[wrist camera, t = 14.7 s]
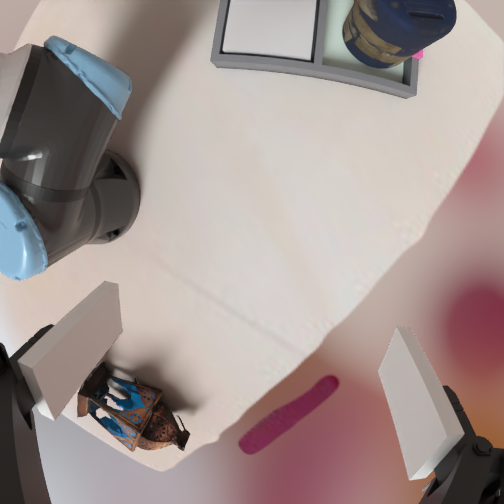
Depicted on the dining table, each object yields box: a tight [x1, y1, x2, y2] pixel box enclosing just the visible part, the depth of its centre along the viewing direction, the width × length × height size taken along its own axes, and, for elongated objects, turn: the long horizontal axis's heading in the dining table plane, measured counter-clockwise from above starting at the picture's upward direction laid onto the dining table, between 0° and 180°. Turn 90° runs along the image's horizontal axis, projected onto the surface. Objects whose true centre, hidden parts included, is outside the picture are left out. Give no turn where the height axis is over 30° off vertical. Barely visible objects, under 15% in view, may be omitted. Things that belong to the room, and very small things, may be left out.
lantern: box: [77, 362, 190, 452], centre depth 55 cm, size 16×16×25 cm
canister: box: [342, 0, 456, 69], centre depth 24 cm, size 10×10×18 cm
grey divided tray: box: [210, 0, 423, 99], centre depth 32 cm, size 27×15×5 cm, turn 83°
